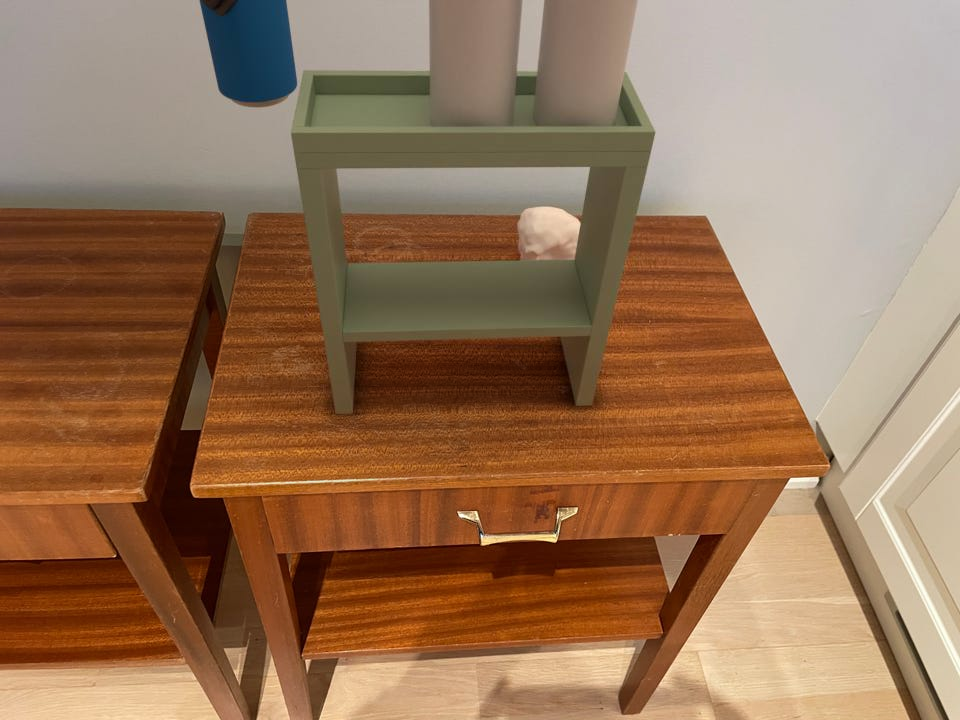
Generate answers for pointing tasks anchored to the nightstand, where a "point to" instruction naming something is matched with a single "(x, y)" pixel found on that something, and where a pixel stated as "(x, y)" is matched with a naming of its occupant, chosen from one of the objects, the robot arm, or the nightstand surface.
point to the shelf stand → (473, 286)
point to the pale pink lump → (547, 234)
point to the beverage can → (252, 52)
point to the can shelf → (413, 143)
